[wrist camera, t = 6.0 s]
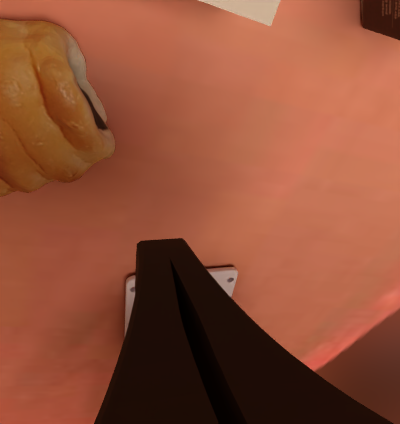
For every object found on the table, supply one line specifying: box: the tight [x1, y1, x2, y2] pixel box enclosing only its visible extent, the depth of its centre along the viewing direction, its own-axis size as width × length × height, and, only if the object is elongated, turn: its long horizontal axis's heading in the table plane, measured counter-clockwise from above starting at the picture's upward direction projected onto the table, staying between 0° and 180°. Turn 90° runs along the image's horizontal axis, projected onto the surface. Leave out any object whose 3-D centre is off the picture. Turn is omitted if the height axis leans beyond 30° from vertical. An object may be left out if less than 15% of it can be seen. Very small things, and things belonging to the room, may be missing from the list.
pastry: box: [0, 19, 115, 197], centre depth 14 cm, size 9×7×4 cm
